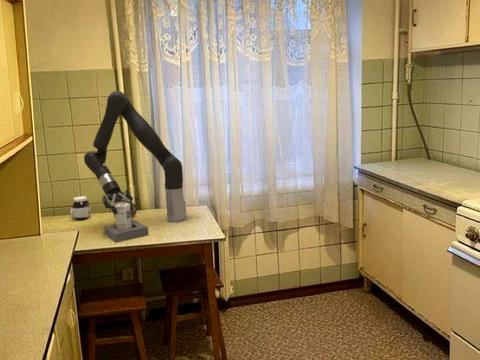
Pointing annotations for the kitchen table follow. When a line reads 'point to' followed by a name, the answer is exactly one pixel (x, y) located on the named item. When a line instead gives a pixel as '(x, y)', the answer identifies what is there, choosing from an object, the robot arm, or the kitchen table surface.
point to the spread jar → (80, 208)
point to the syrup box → (123, 216)
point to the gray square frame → (126, 231)
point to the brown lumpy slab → (132, 211)
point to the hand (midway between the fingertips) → (124, 211)
